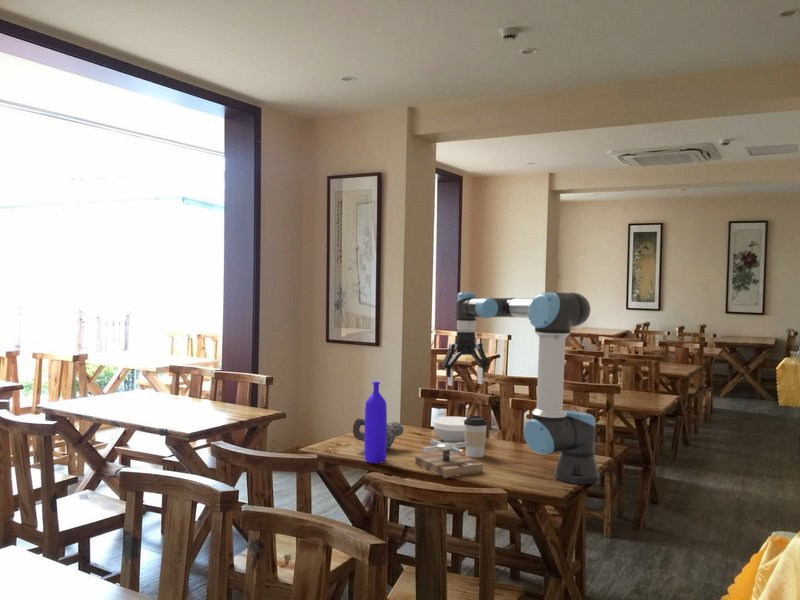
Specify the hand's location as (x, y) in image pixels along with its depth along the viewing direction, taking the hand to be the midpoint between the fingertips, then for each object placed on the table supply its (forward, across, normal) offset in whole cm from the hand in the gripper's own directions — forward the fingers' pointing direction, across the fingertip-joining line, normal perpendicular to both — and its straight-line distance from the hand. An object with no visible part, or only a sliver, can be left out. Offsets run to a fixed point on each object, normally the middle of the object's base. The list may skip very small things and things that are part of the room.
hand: (465, 384), depth 271 cm
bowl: (+27, -6, -19) cm, 34 cm away
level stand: (+27, +17, +18) cm, 37 cm away
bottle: (+27, +38, 0) cm, 47 cm away
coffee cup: (+27, -2, +5) cm, 28 cm away
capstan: (+20, +18, +19) cm, 33 cm away
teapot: (+27, +30, -18) cm, 44 cm away
